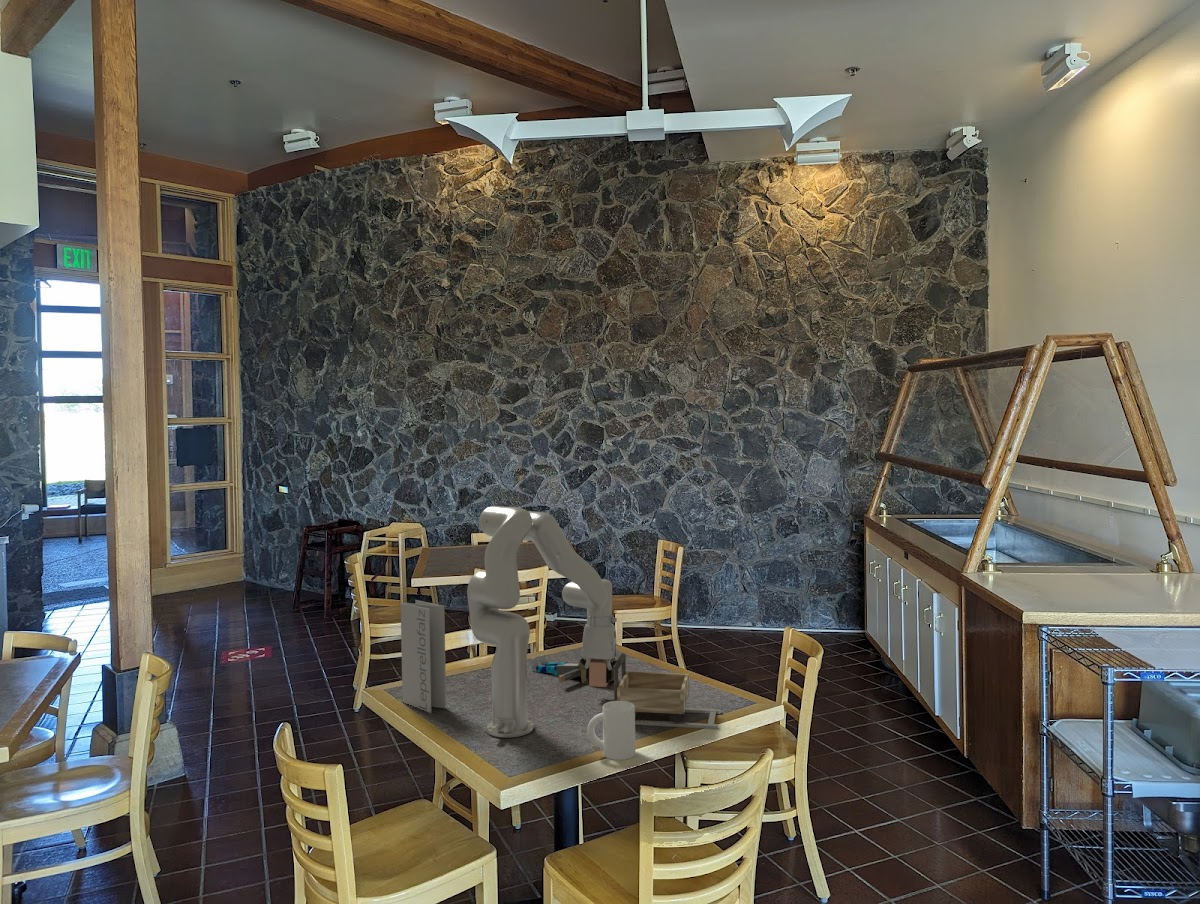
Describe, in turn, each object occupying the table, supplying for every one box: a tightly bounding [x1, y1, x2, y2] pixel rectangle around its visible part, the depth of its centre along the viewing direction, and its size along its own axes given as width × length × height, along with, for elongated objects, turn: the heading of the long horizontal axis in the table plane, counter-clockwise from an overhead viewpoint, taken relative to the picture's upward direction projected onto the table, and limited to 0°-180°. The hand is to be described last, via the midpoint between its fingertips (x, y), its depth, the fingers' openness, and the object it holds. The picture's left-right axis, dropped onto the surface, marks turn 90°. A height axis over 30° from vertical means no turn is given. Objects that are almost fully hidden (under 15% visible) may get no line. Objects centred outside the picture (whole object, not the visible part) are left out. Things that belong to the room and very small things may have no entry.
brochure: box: [400, 599, 447, 714], centre depth 241 cm, size 14×6×30 cm, turn 47°
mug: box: [586, 700, 636, 761], centre depth 202 cm, size 8×12×12 cm
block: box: [588, 659, 609, 688], centre depth 245 cm, size 5×5×7 cm
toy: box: [530, 653, 616, 685], centre depth 269 cm, size 26×8×30 cm
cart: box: [613, 652, 690, 723], centre depth 228 cm, size 16×19×15 cm
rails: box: [635, 707, 721, 730], centre depth 227 cm, size 13×26×1 cm, turn 79°
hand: (599, 680), depth 245 cm, fingers closed on block, 5 cm apart
